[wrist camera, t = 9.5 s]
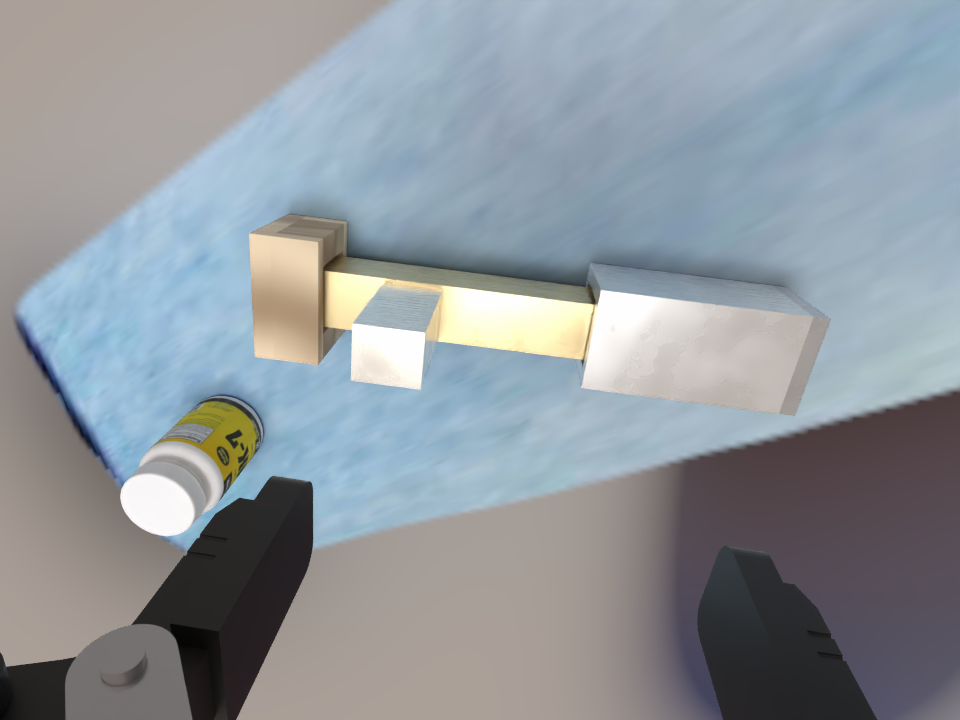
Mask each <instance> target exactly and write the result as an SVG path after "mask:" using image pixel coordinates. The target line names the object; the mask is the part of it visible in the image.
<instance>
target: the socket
mask: <svg viewBox="0 0 960 720" xmlns="http://www.w3.org/2000/svg"><path fill="white" fill-rule="evenodd" d="M347 241H348V221H341V220H333V219H325V218H317V217H309V216H301V215H293V214H288V215H286V216H284V217H282V218H280V219H277V220H275V221H273V222H271V223H269V224H267V225H265V226H263V227H261V228H259V229H257V230H255V231H253V232H251V233H249V242H250V263H251V284H252V305H253V326H254V347H255V357H260V358H267V359H275V360H283V361H291V362H298V363H306V364H314V365H319V363H320V362H321V361H322V359H323V358H324V357H325V356H326V354H327V353H328V352H329V350H330V349H331V348H332V347H333V345H334V344H335V343H336V341H337V340H338V339H339V337H340V336H341V335H342V334H343V332H344V331H345V330H346V329H338V328H330V327H323V266H325V265H326V264H327V263H328V262H329V261H331V260H332V259H333V258H334V257H335V256H343V257H347Z"/></svg>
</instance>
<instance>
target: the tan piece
mask: <svg viewBox="0 0 960 720" xmlns="http://www.w3.org/2000/svg"><path fill="white" fill-rule="evenodd" d="M595 304H596V300H595V297H594V294H593V291H592V288H589V287H581V286H573V285H565V284H557V283H549V282H541V281H533V280H525V279H517V278H510V277H502V276H494V275H486V274H478V273H470V272H462V271H454V270H446V269H438V268H430V267H422V266H414V265H406V264H398V263H390V262H382V261H374V260H366V259H359V258H351V257H343V256H335V257H334V258H333V259H332V260H331V261H329V262H328V263H327V264H326V265H325V266H323V327H330V328H338V329H346V330H352V357H351V381H358V382H366V383H374V384H381V385H389V386H397V387H405V388H412V389H420V390H421V387H422V385H423V382H424V379H425V376H426V373H427V370H428V368H429V365H430V362H431V359H432V356H433V353H434V351H435V348H436V345H437V342H438V341H440V342H448V343H455V344H463V345H471V346H479V347H487V348H494V349H502V350H510V351H518V352H526V353H534V354H541V355H549V356H557V357H565V358H573V359H580V360H584V359H585V354H586V349H587V344H588V339H589V334H590V329H591V324H592V319H593V314H594V309H595Z"/></svg>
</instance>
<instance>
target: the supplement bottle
mask: <svg viewBox="0 0 960 720" xmlns="http://www.w3.org/2000/svg"><path fill="white" fill-rule="evenodd" d="M262 440H263V428H262V425H261V422H260V420H259V418H258V416H257V414H256V413H255V412H254V410H253V409H252V408H251V407H249V406H248V405H247V404H245V403H244V402H242V401H240V400H238V399H236V398H232V397H228V396H214V397H210V398H207V399H205V400H203V401H202V402H200V403H199V404H198V405H197V406H196V407H194V408H193V409H192V410H191V411H190V412H189V413H188V414H187V415H186V416H185V417H184V418H182V419H181V420H180V421H179V422H178V423H177V424H176V425H175V426H174V427H173V428H172V429H171V430H170V431H168V432H167V433H166V434H165V435H164V436H163V437H162V438H161V439H160V440H159V441H158V442H157V443H155V444H154V445H153V446H152V447H151V448H150V449H149V450H148V451H147V452H146V454H145V455H144V456H143V458H142V460H141V462H140V465H139V469H138V470H137V471H136V472H135V473H134V474H133V475H132V476H131V477H130V478H129V479H128V480H127V481H126V482H125V484H124V485H123V488H122V490H121V503H122V506H123V509H124V511H125V513H126V514H127V515H128V517H129V518H130V519H131V520H132V521H133V522H134V523H135V524H136V525H138V526H139V527H141V528H142V529H144V530H146V531H148V532H151V533H153V534H157V535H163V536H173V535H177V534H180V533H182V532H184V531H186V530H187V529H188V528H189V527H190V526H191V525H192V524H193V523H194V522H195V521H196V520H197V519H198V518H199V517H200V516H201V515H202V513H205V512H207V511H209V510H210V509H212V508H213V507H214V506H215V505H216V504H217V503H218V502H219V501H220V499H221V498H222V497H223V495H224V494H225V493H226V491H227V490H228V489H229V488H230V486H231V485H232V484H233V482H234V481H235V480H236V478H237V477H238V476H239V475H240V473H241V472H242V471H243V469H244V468H245V467H246V465H247V464H248V463H249V461H250V460H251V459H252V457H253V456H254V455H255V453H256V452H257V451H258V449H259V448H260V446H261V443H262Z"/></svg>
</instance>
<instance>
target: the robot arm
mask: <svg viewBox="0 0 960 720" xmlns="http://www.w3.org/2000/svg"><path fill="white" fill-rule="evenodd" d="M312 547H313V487H312V483H311V482H310V481H304V480H297V479H291V478H284V477H277V476H272V477H271V478H269V480H268V481H267V482H266V484H265V485H264V487H263V488H262V490H261V491H260V492H259V494H258V495H257V497H256V498H255V500H249V499H243V498H239V499H237V500H236V501H234V502H233V503H231V504H230V505H228V506H227V507H225V508H224V509H222V510H221V511H219V512H218V513H216V514H215V515H214V517H213V518H212V519H211V521H210V522H209V523H208V525H207V526H206V527H205V529H204V530H203V531H202V533H201V534H200V538H197V539H196V540H195V542H194V543H193V544H192V546H191V547H190V548H189V550H188V551H187V555H186V556H183V558H182V559H181V560H180V562H179V563H178V564H177V566H176V567H175V568H174V570H173V571H172V572H171V574H170V575H169V576H168V578H167V579H166V580H165V582H164V583H163V584H162V586H161V587H160V588H159V590H158V591H157V592H156V594H155V595H154V596H153V598H152V599H151V600H150V602H149V603H148V604H147V606H146V607H145V608H144V610H143V611H142V612H141V613H140V615H139V616H138V618H137V619H136V620H135V621H134V622H133V624H132V625H129V626H125V627H122V628H118V629H116V630H113V631H111V632H109V633H107V634H105V635H103V636H101V637H99V638H98V639H96V640H95V641H93V642H92V643H90V644H89V645H88V646H87V647H86V648H84V649H83V650H82V652H81V653H80V654H79V655H78V656H77V657H74V658H69V659H63V660H56V661H48V662H40V663H33V664H25V665H17V666H9V667H6V665H5V662H4V659H3V656H2V654H1V653H0V720H236V719H237V717H238V715H239V713H240V710H241V708H242V706H243V704H244V702H245V700H246V698H247V696H248V693H249V692H250V689H251V687H252V685H253V683H254V681H255V679H256V677H257V675H258V673H259V670H260V668H261V666H262V664H263V662H264V660H265V658H266V656H267V654H268V652H269V649H270V647H271V645H272V643H273V641H274V639H275V637H276V635H277V633H278V631H279V629H280V626H281V624H282V622H283V620H284V618H285V616H286V614H287V612H288V610H289V608H290V606H291V603H292V601H293V599H294V597H295V595H296V593H297V591H298V589H299V587H300V585H301V582H302V580H303V578H304V576H305V574H306V571H307V569H308V566H309V562H310V558H311V554H312ZM697 619H698V620H697V624H698V634H699V638H700V642H701V645H702V649H703V652H704V656H705V659H706V663H707V666H708V669H709V673H710V676H711V680H712V683H713V686H714V690H715V693H716V697H717V700H718V703H719V707H720V710H721V714H722V717H723V720H877V719H876V717H875V715H874V713H873V711H872V709H871V708H870V706H869V704H868V702H867V700H866V698H865V696H864V694H863V693H862V691H861V689H860V687H859V685H858V683H857V681H856V680H855V678H854V676H853V674H852V672H851V670H850V668H849V666H848V665H847V663H846V661H843V659H842V653H841V651H840V650H839V648H838V646H837V644H836V642H835V640H834V639H831V633H830V631H829V629H828V627H827V625H826V624H825V622H824V620H823V618H822V616H821V614H820V612H819V611H818V609H817V608H816V606H815V605H814V604H812V603H811V601H810V600H809V599H808V598H807V597H806V596H805V595H804V594H803V593H802V592H801V591H800V590H799V589H798V588H797V587H796V586H795V585H794V584H788V583H783V582H782V579H781V578H780V575H779V573H778V571H777V569H776V567H775V565H774V563H773V561H772V559H771V558H770V556H769V555H768V554H767V553H766V552H762V551H755V550H749V549H742V548H736V547H729V546H724V547H722V549H721V550H720V551H719V553H718V556H717V559H716V561H715V564H714V566H713V569H712V572H711V574H710V577H709V580H708V582H707V585H706V588H705V590H704V593H703V595H702V598H701V601H700V604H699V608H698V618H697Z"/></svg>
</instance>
